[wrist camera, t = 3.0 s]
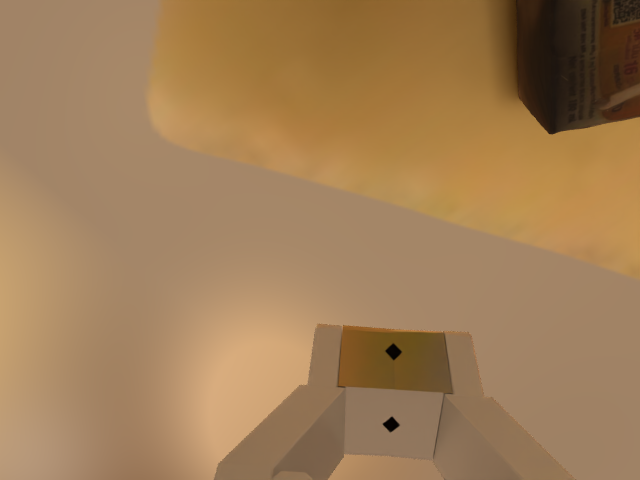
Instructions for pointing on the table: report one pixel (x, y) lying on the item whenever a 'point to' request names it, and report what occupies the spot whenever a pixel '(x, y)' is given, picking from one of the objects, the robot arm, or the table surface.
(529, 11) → the beverage carton
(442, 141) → the table surface
